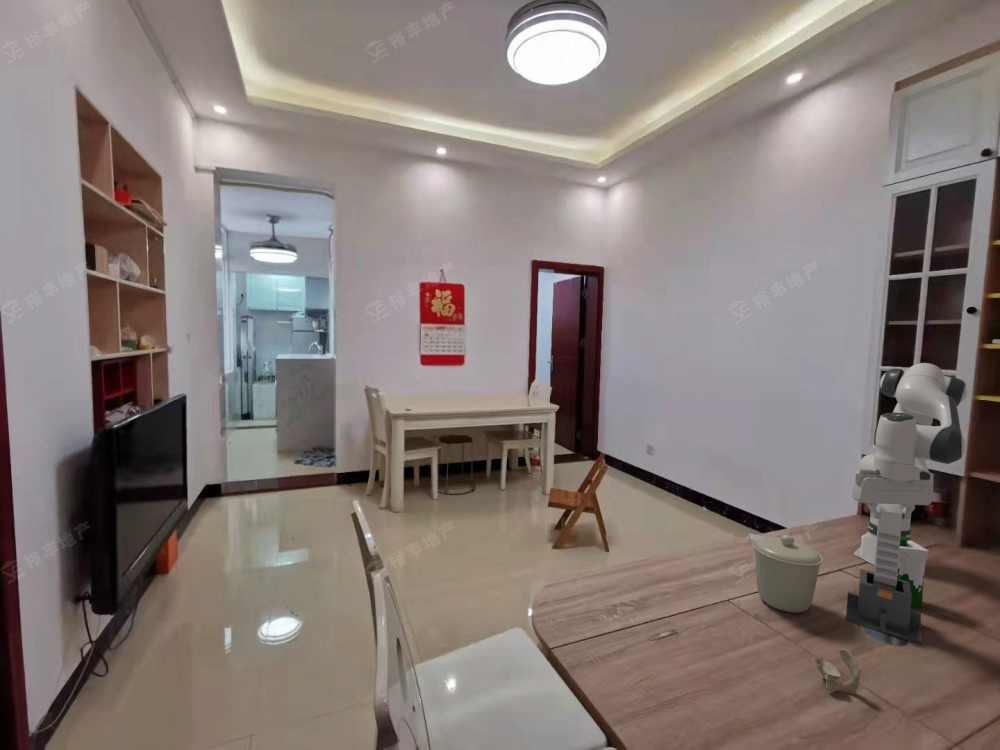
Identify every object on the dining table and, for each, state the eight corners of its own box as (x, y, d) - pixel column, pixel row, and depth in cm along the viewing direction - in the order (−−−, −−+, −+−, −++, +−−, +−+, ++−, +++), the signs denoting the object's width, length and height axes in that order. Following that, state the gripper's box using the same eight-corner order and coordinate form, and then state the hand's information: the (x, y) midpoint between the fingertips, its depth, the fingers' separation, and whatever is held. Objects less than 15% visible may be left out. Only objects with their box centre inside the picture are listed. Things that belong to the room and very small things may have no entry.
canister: (812, 596, 141) (817, 530, 140) (826, 628, 125) (831, 553, 124) (747, 582, 149) (751, 519, 148) (751, 610, 133) (756, 540, 131)
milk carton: (876, 591, 146) (881, 530, 145) (908, 594, 144) (913, 533, 143) (894, 605, 138) (899, 541, 136) (928, 610, 136) (934, 545, 135)
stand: (847, 597, 141) (850, 563, 141) (917, 618, 131) (920, 581, 131) (845, 620, 129) (848, 582, 128) (921, 644, 119) (925, 604, 118)
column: (873, 585, 133) (879, 505, 132) (894, 591, 130) (901, 509, 129) (873, 593, 129) (879, 510, 127) (895, 599, 126) (902, 515, 124)
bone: (801, 674, 104) (818, 633, 106) (811, 679, 107) (827, 639, 109) (845, 702, 97) (862, 657, 99) (854, 706, 100) (870, 663, 102)
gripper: (865, 472, 125) (861, 521, 126) (940, 474, 125) (935, 523, 125) (848, 466, 131) (844, 513, 132) (919, 468, 131) (915, 515, 132)
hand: (889, 518), depth 129 cm, fingers closed on column, 7 cm apart
